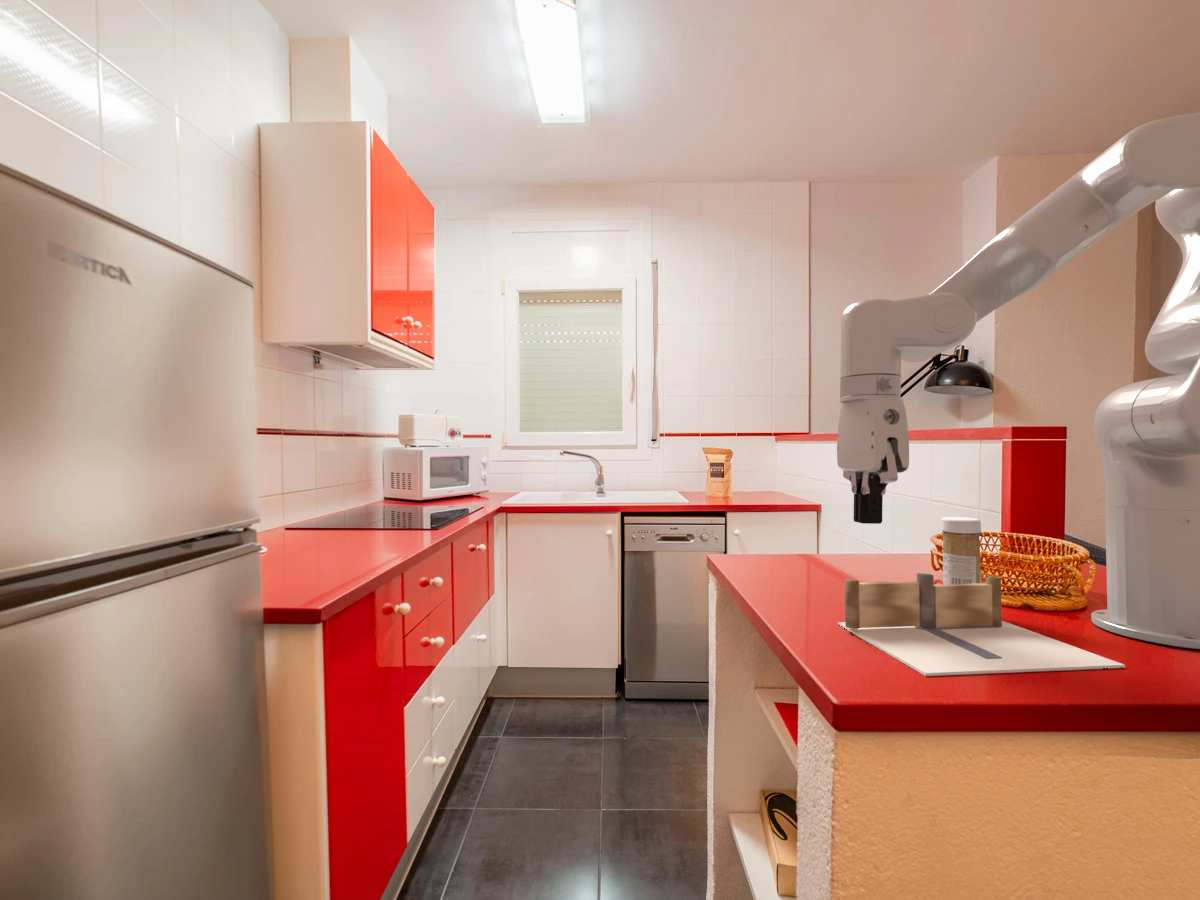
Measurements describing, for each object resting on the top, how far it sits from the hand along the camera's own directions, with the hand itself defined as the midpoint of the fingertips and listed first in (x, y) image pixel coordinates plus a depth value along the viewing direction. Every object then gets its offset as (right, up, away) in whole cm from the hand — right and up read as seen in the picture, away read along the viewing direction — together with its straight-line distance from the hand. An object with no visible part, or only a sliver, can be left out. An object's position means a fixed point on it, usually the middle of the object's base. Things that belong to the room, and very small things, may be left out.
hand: (867, 522), depth 71 cm
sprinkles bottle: (+14, -13, +1) cm, 19 cm away
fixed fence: (+9, -13, -6) cm, 17 cm away
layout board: (+6, -13, -11) cm, 18 cm away
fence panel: (-2, -12, -7) cm, 14 cm away
